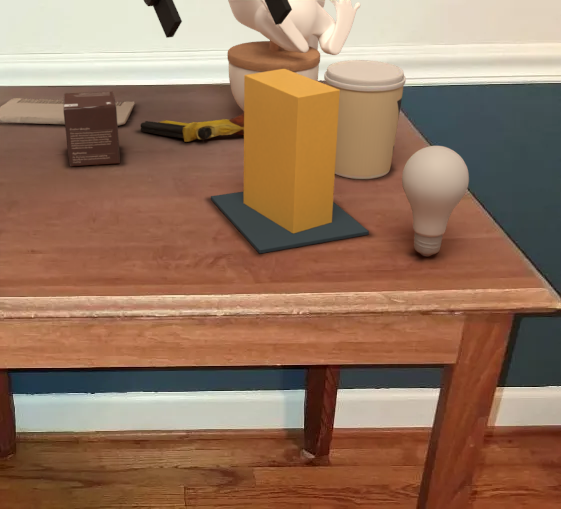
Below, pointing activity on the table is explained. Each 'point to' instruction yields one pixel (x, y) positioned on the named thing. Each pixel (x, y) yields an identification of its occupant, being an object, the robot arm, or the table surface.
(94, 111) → the box
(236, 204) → the slate mat
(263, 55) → the lidded bowl
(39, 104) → the grooming comb
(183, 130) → the toy gun
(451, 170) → the lightbulb
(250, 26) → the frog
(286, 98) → the cereal box
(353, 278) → the table surface
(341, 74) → the coffee cup
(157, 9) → the robot arm
